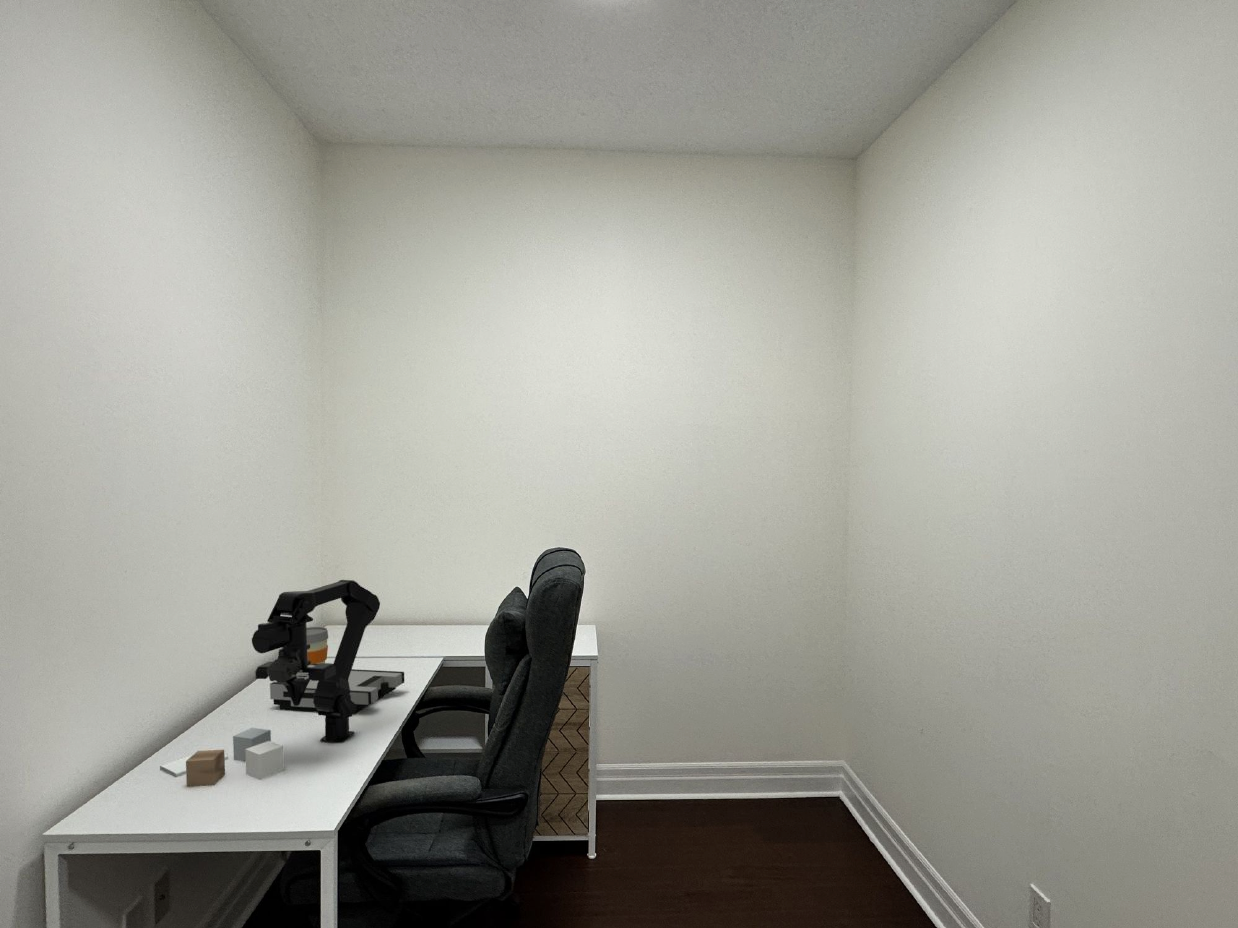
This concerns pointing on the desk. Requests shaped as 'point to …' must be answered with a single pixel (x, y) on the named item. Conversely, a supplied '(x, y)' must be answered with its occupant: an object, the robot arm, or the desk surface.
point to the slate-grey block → (249, 741)
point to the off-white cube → (264, 759)
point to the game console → (361, 683)
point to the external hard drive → (178, 766)
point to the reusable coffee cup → (317, 644)
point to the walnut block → (205, 768)
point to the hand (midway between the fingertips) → (296, 705)
